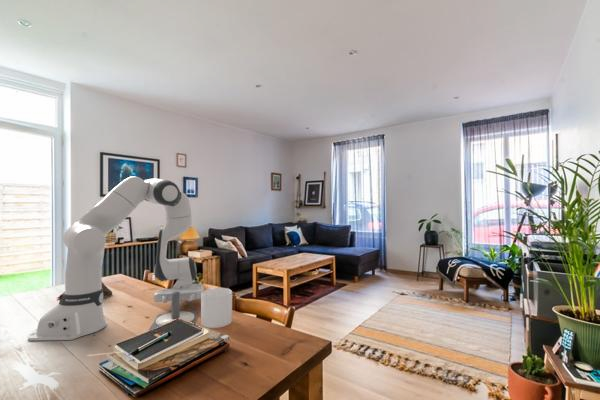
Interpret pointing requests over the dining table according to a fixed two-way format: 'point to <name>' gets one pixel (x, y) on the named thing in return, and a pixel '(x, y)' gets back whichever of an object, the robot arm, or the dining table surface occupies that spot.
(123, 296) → the dining table surface
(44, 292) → the dining table surface
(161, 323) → the lid
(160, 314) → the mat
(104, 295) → the worn brown figurine
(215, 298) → the cup
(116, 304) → the dining table surface
